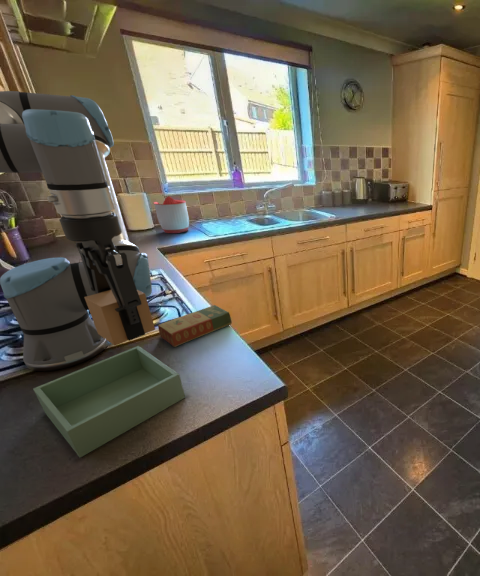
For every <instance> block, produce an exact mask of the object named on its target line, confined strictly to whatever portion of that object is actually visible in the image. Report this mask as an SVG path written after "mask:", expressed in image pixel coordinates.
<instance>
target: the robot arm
mask: <svg viewBox="0 0 480 576" xmlns="http://www.w3.org/2000/svg"><path fill="white" fill-rule="evenodd" d="M114 146H115V141H114V139H113V135H112V132H111V130H110V128H109V124H108V121H107V120H106V117H105V115H104V113H103V111H102V109H101V108H100V106H99V104H98V103H97V102H96V101H95V100H93V99H92V98H89V97H83V96H82V97H81V96H76V95H72V94H71V95H60V94H50V93H49V94H47V93H38V92H28V91H27V92H25V91H16V90H0V174H10V173H11V174H12V173H13V174H14V173H15V174H23V173H25V174H26V173H27V174H29V173H30V174H31V173H33V174H34V173H35V174H36V173H41V174H42V175H43V178H44V180H45V183H46V188H47V189H48V192H49V194H50V195H48V196H47V197H46V199H47V202H48V203H53V206H54V208H55V210H56V213H57V214H59V215H60V218H59V224H60V226H61V229H62V231H63V234H64V237H65V238H66V239H67V240H69V241H72V242H75V247H76V248H77V251H78V253H79V255H80V258H81V261H79V262H71V261H70V260H68V258H66V257H61V256H60V257H59V256H58V257H49V258H43V259H38V260H34V261H30V262H27V263H23V264H21V265H18V266H15V267H13V268H11V269H9V270H7V271H5V272H4V273H3V274H2V275H1V276H0V287H1V289H2V292H3V297H4V299H6V301H7V303H8V305H9V307H10V309H11V311H12V313H13V316H14V318H15V319H16V321H17V323H18V326H19V327H20V330H21V331H22V334H23V352H22V360H23V362H24V364H25V367H26V368H27V369H29V371H30V370H31V371H34V372H50V371H58V370H62V369H66V368H70V367H73V366H76V365H79V364H82V363H84V362H87V361H88V360H91V359H92V358H94V357H96V356H98V355H99V354H101V353H102V352H103V351H105V349H106V348H107V347H108V345H109V341H107V340H106V339H105V338H103V337H102V336H100V335H99V334H98V332H97V330H96V327H95V324H94V322H93V319H92V318H91V317H90V315H89V312H88V311H89V308H88V306H87V303H86V300H85V298H84V297H86V296H90V295H94V294H97V293H101V292H104V291H108V290H112V293H113V295H114V297H115V299H116V301H117V303H118V305H119V308H116V309H115V310H116V312H119V315H120V318H121V321H122V324H123V327H124V330H125V333H126V336H127V339H128V340H127V341H132V340H135V339H137V338H139V337H142V336H144V335H146V333H145V332H144V329H143V325H142V322H141V319H140V315H139V312H138V309H137V306H139V305H141V304H142V303H141V300H140V297H139V294H138V292H137V290H139V291H141V292H143V293H145V295H146V298H149V297H150V296H151V295H152V293H153V288H152V287H153V286H152V279H151V278H152V277H151V271H150V264H149V256H148V254H147V253H145V252H141V250H140V248H139V247H138V246H137V245H135V244H134V243H132V242H130V239H129V237H128V232H127V229H126V226H125V222H124V219H123V216H122V212H121V209H120V206H119V202H118V199H117V195H116V193H115V192H116V191H115V188H114V185H113V182H112V179H111V174H110V171H109V168H108V165H107V161H106V158H107V157H108V156H109V155H110V152H111V151H110V148H112V147H114Z"/></svg>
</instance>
